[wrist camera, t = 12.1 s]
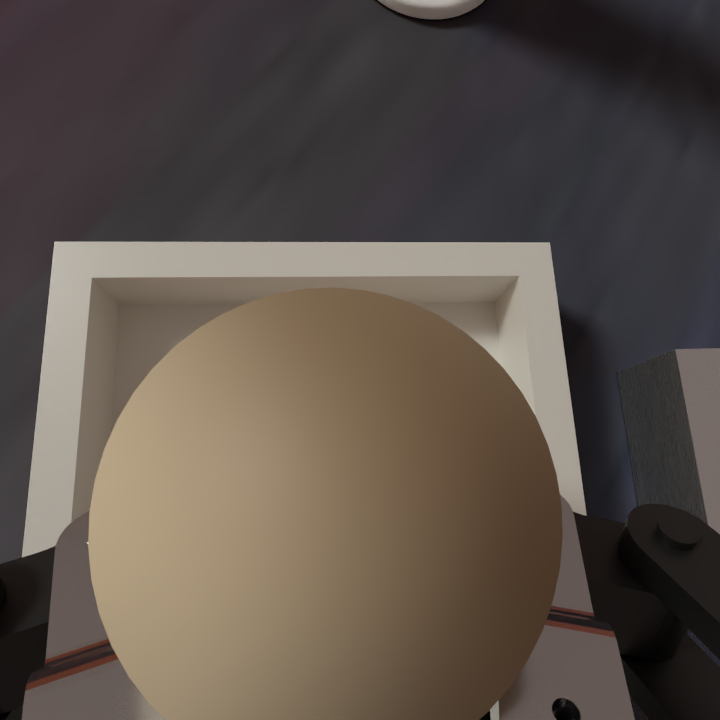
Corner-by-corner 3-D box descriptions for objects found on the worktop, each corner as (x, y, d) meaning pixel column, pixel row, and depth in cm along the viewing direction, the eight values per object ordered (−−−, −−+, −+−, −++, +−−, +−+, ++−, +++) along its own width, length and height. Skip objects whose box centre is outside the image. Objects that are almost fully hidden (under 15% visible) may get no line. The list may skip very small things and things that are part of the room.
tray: (57, 778, 16) (-9, 853, 13) (97, 284, 20) (54, 241, 17) (564, 735, 18) (623, 791, 14) (512, 282, 22) (549, 242, 18)
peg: (305, 608, 16) (283, 914, 4) (217, 487, 16) (-8, 467, 5) (418, 511, 17) (654, 545, 5) (331, 400, 17) (371, 211, 6)
